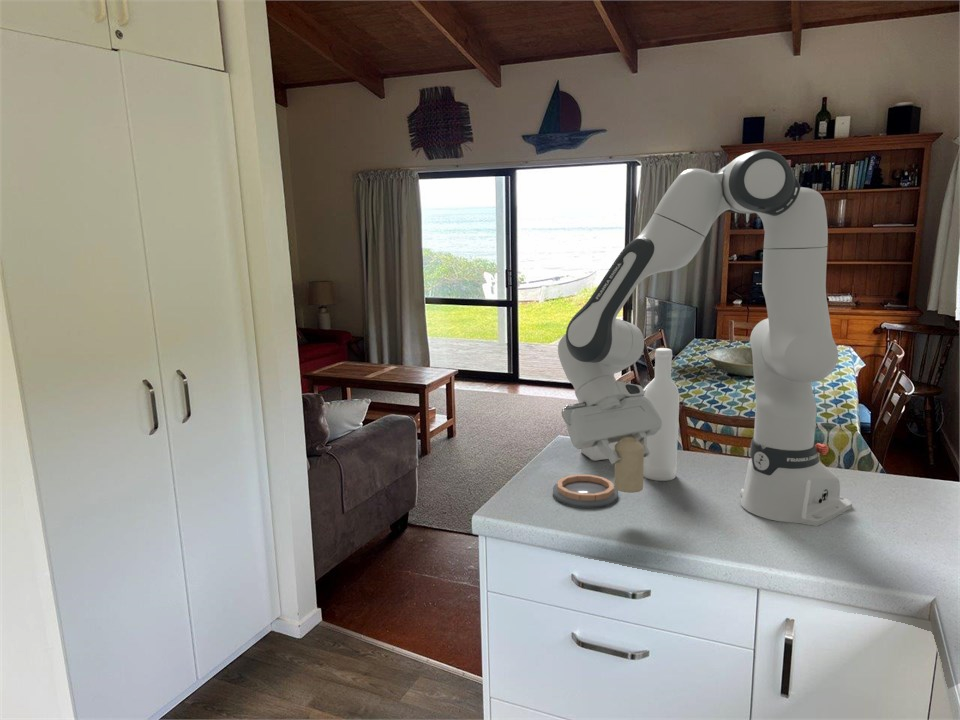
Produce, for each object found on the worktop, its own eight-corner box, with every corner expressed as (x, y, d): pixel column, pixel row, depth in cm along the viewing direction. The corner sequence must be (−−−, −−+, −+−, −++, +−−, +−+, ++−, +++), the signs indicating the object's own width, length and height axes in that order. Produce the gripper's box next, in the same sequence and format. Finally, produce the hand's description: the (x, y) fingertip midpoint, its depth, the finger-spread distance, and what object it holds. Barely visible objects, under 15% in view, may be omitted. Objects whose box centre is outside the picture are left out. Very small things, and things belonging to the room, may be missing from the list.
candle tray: (593, 479, 154) (593, 469, 153) (631, 500, 141) (631, 489, 141) (541, 489, 148) (541, 479, 147) (576, 512, 135) (576, 501, 135)
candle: (643, 493, 128) (644, 443, 126) (614, 492, 129) (614, 443, 127) (642, 483, 133) (643, 435, 131) (614, 482, 134) (615, 434, 132)
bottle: (636, 470, 159) (640, 346, 153) (668, 468, 160) (673, 345, 154) (648, 482, 151) (653, 352, 146) (681, 480, 152) (688, 351, 146)
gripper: (564, 398, 129) (593, 460, 122) (648, 385, 138) (679, 442, 131) (552, 414, 134) (579, 476, 127) (634, 401, 143) (663, 457, 136)
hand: (631, 459), depth 129 cm, fingers closed on candle, 5 cm apart
